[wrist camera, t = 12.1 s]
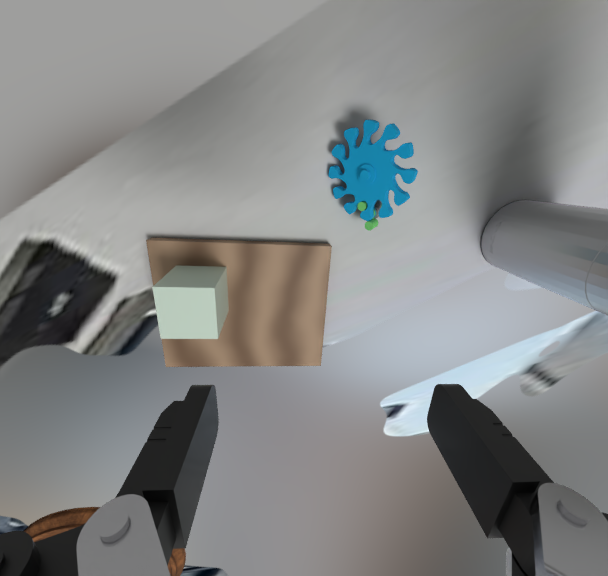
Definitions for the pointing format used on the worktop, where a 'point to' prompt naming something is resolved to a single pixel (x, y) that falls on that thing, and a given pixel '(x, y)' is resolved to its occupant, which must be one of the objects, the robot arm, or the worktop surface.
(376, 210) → the gear
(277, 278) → the board
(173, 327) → the pale green block
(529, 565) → the robot arm
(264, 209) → the worktop surface
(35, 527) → the cutting board
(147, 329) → the worktop surface
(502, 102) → the worktop surface
